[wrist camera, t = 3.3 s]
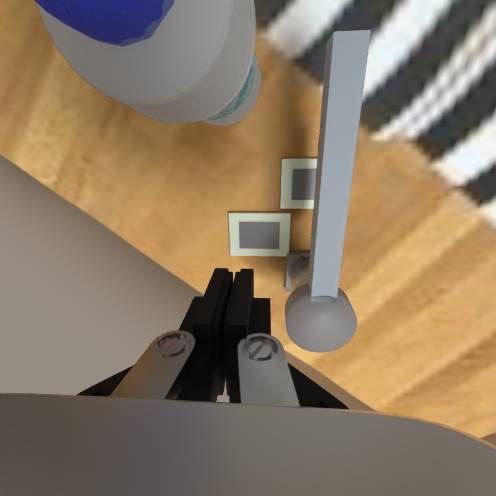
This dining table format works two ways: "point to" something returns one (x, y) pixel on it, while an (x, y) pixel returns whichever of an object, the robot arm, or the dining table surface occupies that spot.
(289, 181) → the label tile
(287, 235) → the label tile
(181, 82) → the bottle
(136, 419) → the robot arm
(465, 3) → the dining table surface
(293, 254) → the post
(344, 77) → the bar
